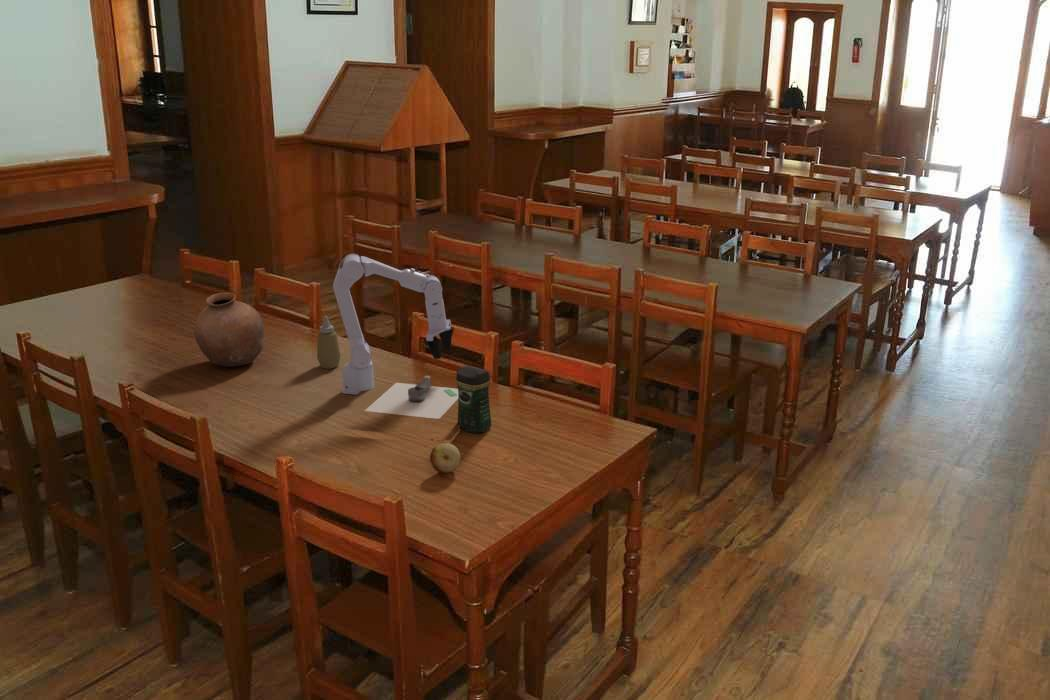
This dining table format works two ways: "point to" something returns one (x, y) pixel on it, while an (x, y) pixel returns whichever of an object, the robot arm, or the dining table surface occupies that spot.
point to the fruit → (445, 458)
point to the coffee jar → (473, 399)
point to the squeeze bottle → (328, 346)
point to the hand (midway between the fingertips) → (442, 354)
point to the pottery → (229, 331)
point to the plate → (430, 407)
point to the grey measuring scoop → (419, 390)
